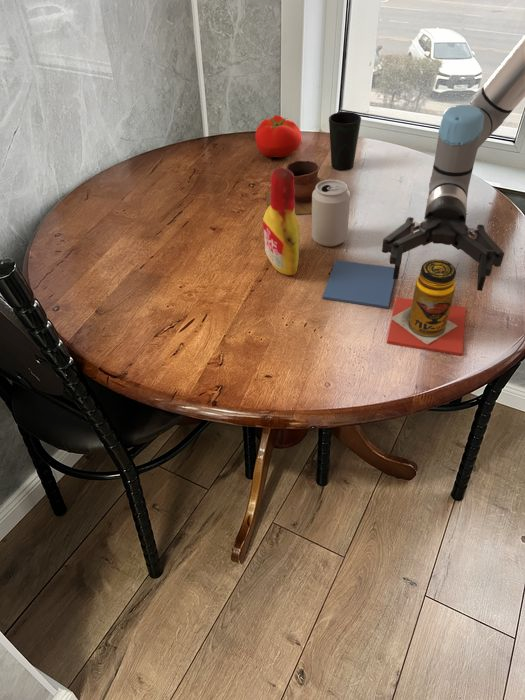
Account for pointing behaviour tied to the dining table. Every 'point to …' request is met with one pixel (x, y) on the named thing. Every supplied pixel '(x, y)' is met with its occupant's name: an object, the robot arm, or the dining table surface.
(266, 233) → the bottle
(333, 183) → the can
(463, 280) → the dining table surface
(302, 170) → the ceramic pot
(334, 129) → the cup
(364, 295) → the mat blue
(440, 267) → the condiment
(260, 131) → the tomato
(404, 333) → the mat red
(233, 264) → the dining table surface
